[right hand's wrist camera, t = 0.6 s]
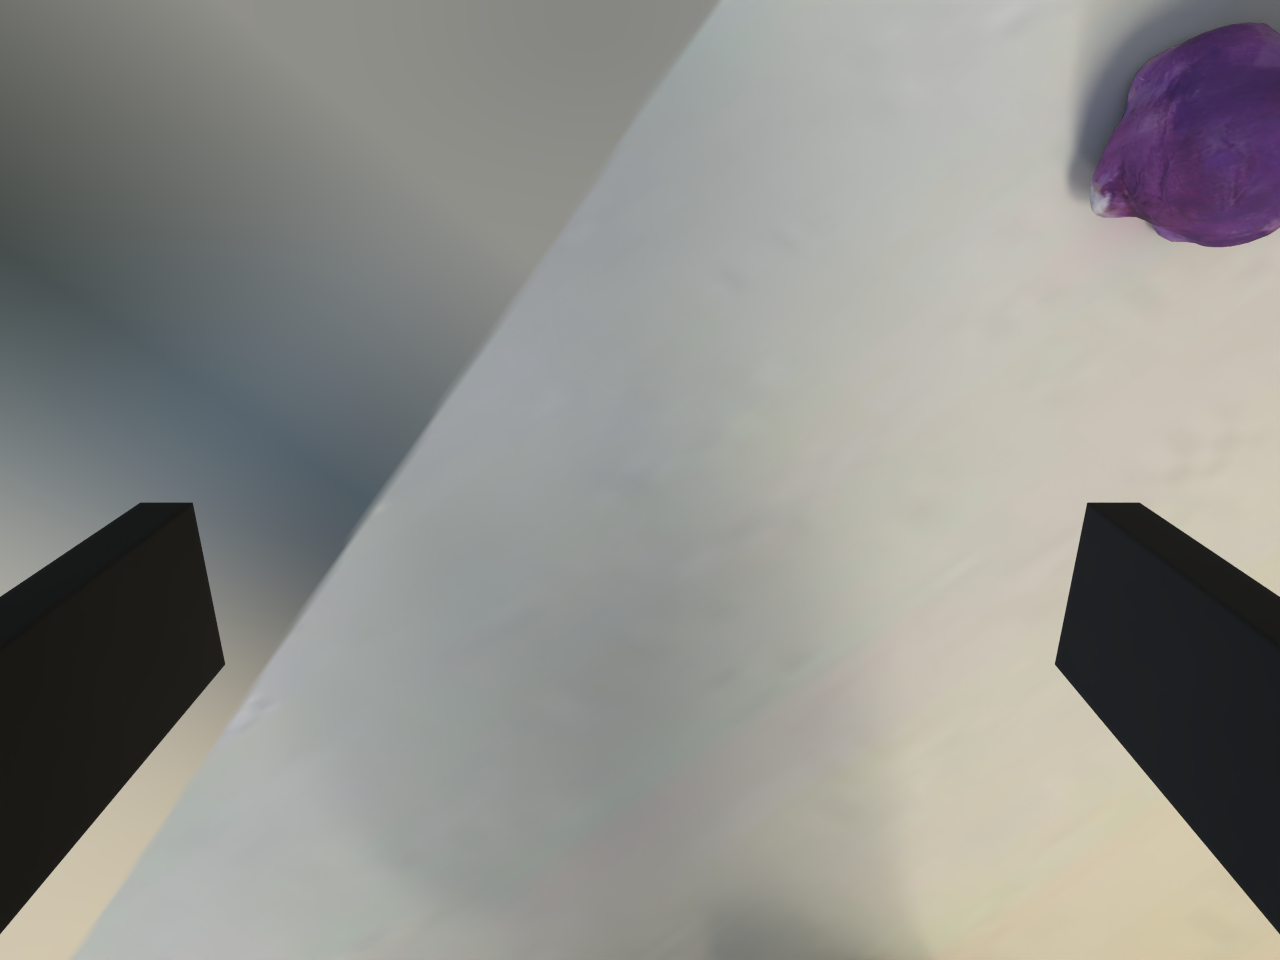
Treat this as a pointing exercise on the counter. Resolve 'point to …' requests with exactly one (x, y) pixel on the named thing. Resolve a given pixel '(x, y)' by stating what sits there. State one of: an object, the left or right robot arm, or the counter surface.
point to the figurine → (1200, 141)
